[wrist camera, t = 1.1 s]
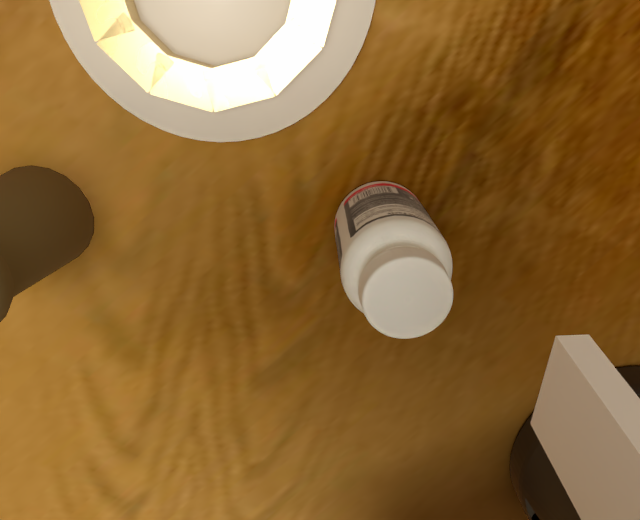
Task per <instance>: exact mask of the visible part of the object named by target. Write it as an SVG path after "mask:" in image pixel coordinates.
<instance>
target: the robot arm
mask: <svg viewBox="0 0 640 520" xmlns="http://www.w3.org/2000/svg"><path fill="white" fill-rule="evenodd" d="M510 476H511V481H512V484H513V487H514V489H515V492H516V494H517V496H518V498H519V501H520V503H521V505H522V507H523V510H524V512H525V513H526V515H527V517H528V518H529V520H640V366H631V367H622V368H615V367H614V366H613V364H612V363H611V362H610V361H609V359H608V358H607V357H606V356H605V354H604V353H603V352H602V350H601V349H600V348H599V347H598V345H597V344H596V343H595V342H594V340H593V339H592V338H591V337H590V335H589V334H588V335H562V336H556V337H555V340H554V343H553V347H552V350H551V354H550V357H549V361H548V364H547V368H546V371H545V374H544V378H543V381H542V385H541V388H540V392H539V395H538V399H537V402H536V406H535V409H534V412H533V414H532V415H531V416H530V417H529V419H528V420H527V421H526V423H525V424H524V426H523V427H522V429H521V431H520V432H519V434H518V436H517V438H516V441H515V443H514V446H513V449H512V453H511V458H510Z"/></svg>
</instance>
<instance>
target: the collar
mask: <svg viewBox="0 0 640 520" xmlns="http://www.w3.org/2000/svg"><path fill="white" fill-rule="evenodd" d="M79 1H80V4H81V7H82V9H83V12H84V15H85V17H86V20H87V23H88V25H89V28H90V30H91V33H92V36H93V38H94V41H95V42H96V41H98V42H97V43H96V44H97V45H98V46H99V47H100V48H101V49H102V50H103V51H104V52H105V53H106V54H107V55H108V56H110V57H111V58H112V59H113V60H114V61H115V62H116V63H117V64H118V65H119V66H120V67H121V68H122V69H123V70H124V71H125V72H126V73H127V74H128V75H129V76H130V77H132V78H133V79H134V80H135V81H136V82H137V83H138V84H139V85H140V86H141V87H142V88H143V89H144V90H145V91H146V92H147V93H149V92H150V94H151V95H154V96H158V97H161V98H165V99H168V100H172V101H175V102H179V103H182V104H186V105H189V106H192V107H196V108H199V109H203V110H206V111H210V112H213V111H214V112H217V111H221V110H225V109H229V108H233V107H237V106H241V105H245V104H249V103H252V102H256V101H260V100H264V99H268V98H272V97H275V95H278V94H279V93H280V92H281V91H282V90H283V89H284V88H285V87H286V86H287V85H288V84H289V83H290V82H291V80H292V79H293V78H294V77H295V76H296V75H297V74H298V73H299V72H300V71H301V70H302V69H303V68H304V67H305V66H306V65H307V64H308V63H309V62H310V61H311V60H312V59H313V58H314V57H315V56H316V55H317V54H318V53H319V52H320V51H321V50H322V48H321V47H320V46H322V47H324V43H325V39H326V36H327V32H328V29H329V25H330V21H331V18H332V14H333V10H334V7H335V3H336V0H291V3H290V7H289V11H288V15H287V19H286V24H285V25H284V26H283V27H282V28H281V29H280V30H279V31H278V32H277V33H276V34H275V35H274V36H273V37H272V39H271V40H270V41H269V42H268V43H267V44H266V45H265V46H264V47H263V48H262V49H261V50H260V51H259V52H258V53H257V54H256V56H253V57H249V58H245V59H241V60H238V61H234V62H230V63H226V64H222V65H219V66H214V65H211V64H207V63H204V62H201V61H197V60H194V59H191V58H187V57H184V56H181V55H177V54H174V53H173V52H172V51H171V50H170V49H169V48H168V47H167V46H166V45H165V44H164V43H163V42H162V41H161V40H160V39H159V38H158V37H157V36H156V35H155V34H154V33H153V32H152V31H151V30H150V29H149V28H148V27H147V26H146V25H145V24H144V23H143V22H142V21H141V20H140V17H139V14H138V11H137V8H136V5H135V2H134V0H79Z"/></svg>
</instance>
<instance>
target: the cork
mask: <svg viewBox="0 0 640 520" xmlns="http://www.w3.org/2000/svg"><path fill="white" fill-rule="evenodd" d="M93 233H94V217H93V214H92V210H91V207H90V204H89V202H88V200H87V199H86V197H85V196H84V194H83V193H82V192H81V190H80V189H79V187H77V186H76V185H75V184H74V183H73V182H71V181H70V180H69V179H68V178H67V177H65V176H64V175H62V174H59V173H57V172H55V171H53V170H51V169H49V168H43V167H37V166H25V167H18V168H14V169H12V170H10V171H8V172H6V173H4V174H2V175H1V176H0V322H1V321H2V320H3V319H4V318H5V317H6V315H7V312H8V310H9V308H10V305H11V302H12V299H13V297H14V296H16V295H17V294H19V293H20V292H22V291H24V290H25V289H27V288H28V287H30V286H32V285H33V284H35V283H36V282H38V281H40V280H41V279H43V278H45V277H46V276H48V275H49V274H51V273H53V272H54V271H56V270H57V269H59V268H61V267H62V266H64V265H65V264H67V263H69V262H70V261H72V260H73V259H75V258H77V257H78V256H79V255H80V254H81V253H82V252H83V251H84V250H85V249H86V248H87V247H88V245H89V243H90V240H91V238H92V235H93Z"/></svg>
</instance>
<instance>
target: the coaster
mask: <svg viewBox="0 0 640 520" xmlns="http://www.w3.org/2000/svg"><path fill="white" fill-rule="evenodd" d="M49 1H50V4H51V7H52V10H53V13H54V16H55V18H56V21H57V23H58V25H59V27H60V29H61V31H62V33H63V36H64V38H65V40H66V42H67V43H68V45H69V46H70V48H71V50H72V51H73V53H74V55H75V56H76V58H77V60H78V61H79V62H80V64H81V65H82V66H83V68H84V69H85V70H86V71H87V73H88V74H89V75H90V77H91V78H92V79H93V80H94V81H95V82H96V83H97V84H98V85H99V86H100V87H101V88H102V89H103V91H104V92H105V93H106V94H107V95H108V96H110V97H111V98H112V99H113V100H115V101H116V102H117V103H118V104H119V105H121V106H122V107H123V108H124V109H126V110H127V111H129V112H130V113H132V114H133V115H135V116H136V117H138V118H140V119H141V120H143V121H145V122H147V123H149V124H151V125H153V126H155V127H157V128H159V129H161V130H164V131H167V132H169V133H172V134H175V135H178V136H181V137H186V138H190V139H195V140H200V141H211V142H235V141H244V140H249V139H255V138H259V137H262V136H266V135H269V134H272V133H275V132H278V131H280V130H282V129H284V128H286V127H288V126H290V125H292V124H294V123H296V122H297V121H299V120H300V119H302V118H303V117H305V116H306V115H308V114H309V113H311V112H312V111H313V110H314V109H316V108H317V107H318V106H319V105H320V104H321V103H323V102H324V101H325V100H326V99H327V98H328V97H329V96H330V95H331V93H332V92H333V91H334V90H335V89H336V88H337V87H338V86H339V84H340V83H341V82H342V80H343V79H344V77H345V76H346V74H347V73H348V71H349V70H350V69H351V67H352V65H353V63H354V61H355V60H356V58H357V56H358V54H359V52H360V50H361V48H362V46H363V43H364V40H365V37H366V35H367V32H368V29H369V26H370V23H371V19H372V14H373V10H374V6H375V0H336V3H335V7H334V10H333V14H332V18H331V21H330V25H329V29H328V32H327V36H326V39H325V43H324V47H322V46H320V47H321V48H322V50H321V51H320V52H319V53H318V54H317V55H316V56H315V57H314V58H313V59H312V60H311V61H310V62H309V63H308V64H307V65H306V66H305V67H304V68H303V69H302V70H301V71H300V72H299V73H298V74H297V75H296V76H295V77H294V78H293V79H292V80H291V82H290V83H289V84H288V85H287V86H286V87H285V88H284V89H283V90H282V91H281V92H280V93H279V94H278V95H275V97H272V98H268V99H264V100H260V101H256V102H252V103H249V104H245V105H241V106H237V107H233V108H229V109H225V110H221V111H217V112H214V111H213V112H210V111H206V110H203V109H199V108H196V107H192V106H189V105H186V104H182V103H179V102H175V101H172V100H168V99H165V98H161V97H158V96H154V95H151V94H150V92H149V93H147V92H146V91H145V90H144V89H143V88H142V87H141V86H140V85H139V84H138V83H137V82H136V81H135V80H134V79H133V78H132V77H130V76H129V75H128V74H127V73H126V72H125V71H124V70H123V69H122V68H121V67H120V66H119V65H118V64H117V63H116V62H115V61H114V60H113V59H112V58H111V57H110V56H108V55H107V54H106V53H105V52H104V51H103V50H102V49H101V48H100V47H99V46H98V45H97V44H96V43H97V42H98V41H96V42H95V41H94V38H93V36H92V33H91V30H90V28H89V25H88V23H87V20H86V17H85V15H84V12H83V9H82V7H81V4H80V1H79V0H49ZM134 2H135V5H136V8H137V11H138V14H139V17H140V20H141V21H142V22H143V23H144V24H145V25H146V26H147V27H148V28H149V29H150V30H151V31H152V32H153V33H154V34H155V35H156V36H157V37H158V38H159V39H160V40H161V41H162V42H163V43H164V44H165V45H166V46H167V47H168V48H169V49H170V50H171V51H172V52H173V53H174V54H177V55H181V56H184V57H187V58H191V59H194V60H197V61H201V62H204V63H207V64H211V65H214V66H219V65H222V64H226V63H230V62H234V61H238V60H241V59H245V58H249V57H253V56H256V54H257V53H258V52H259V51H260V50H261V49H262V48H263V47H264V46H265V45H266V44H267V43H268V42H269V41H270V40H271V39H272V37H273V36H274V35H275V34H276V33H277V32H278V31H279V30H280V29H281V28H282V27H283V26H284V25H285V24H286V19H287V15H288V11H289V7H290V3H291V0H134Z"/></svg>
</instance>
